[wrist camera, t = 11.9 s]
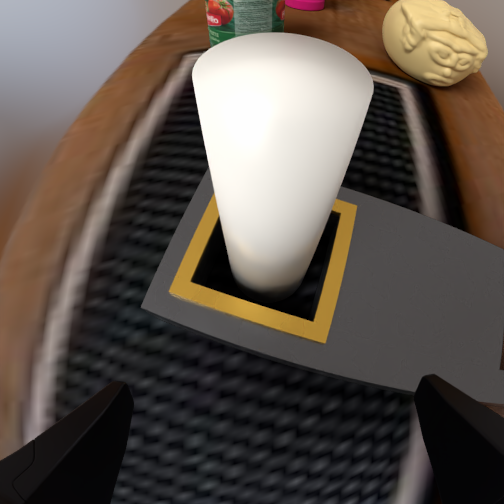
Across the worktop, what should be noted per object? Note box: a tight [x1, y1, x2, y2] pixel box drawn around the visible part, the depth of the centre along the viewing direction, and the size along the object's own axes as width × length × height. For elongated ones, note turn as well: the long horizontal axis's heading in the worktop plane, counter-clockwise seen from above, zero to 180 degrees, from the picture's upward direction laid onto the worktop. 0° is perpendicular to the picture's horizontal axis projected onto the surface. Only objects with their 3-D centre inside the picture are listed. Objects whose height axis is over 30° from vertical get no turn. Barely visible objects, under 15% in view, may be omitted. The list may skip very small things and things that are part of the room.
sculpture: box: [382, 0, 488, 86], centre depth 22 cm, size 12×12×11 cm
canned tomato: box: [205, 0, 285, 48], centre depth 23 cm, size 8×8×11 cm
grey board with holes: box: [141, 168, 504, 407], centre depth 15 cm, size 28×10×3 cm, turn 71°
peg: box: [192, 33, 374, 303], centre depth 12 cm, size 4×4×12 cm
